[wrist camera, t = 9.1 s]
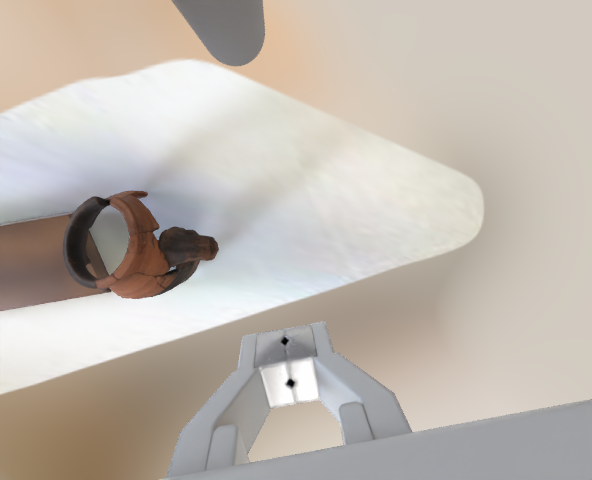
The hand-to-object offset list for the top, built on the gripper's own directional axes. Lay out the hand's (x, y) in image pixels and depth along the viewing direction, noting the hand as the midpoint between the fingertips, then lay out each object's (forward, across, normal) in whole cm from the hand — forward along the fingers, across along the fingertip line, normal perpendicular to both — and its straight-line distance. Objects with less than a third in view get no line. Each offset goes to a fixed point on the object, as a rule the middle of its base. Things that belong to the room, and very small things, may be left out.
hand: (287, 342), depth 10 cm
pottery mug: (+18, +11, 0) cm, 21 cm away
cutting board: (+18, +26, 0) cm, 32 cm away
